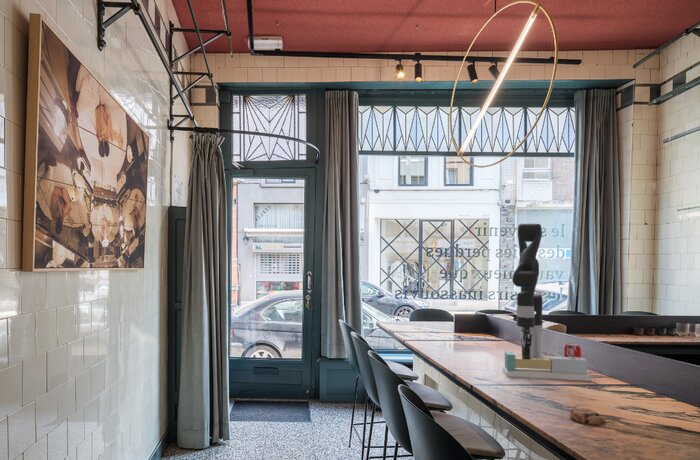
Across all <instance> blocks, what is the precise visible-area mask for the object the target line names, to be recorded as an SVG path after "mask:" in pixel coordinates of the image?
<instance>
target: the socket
mask: <svg viewBox="0 0 700 460" xmlns="http://www.w3.org/2000/svg"><path fill="white" fill-rule="evenodd" d="M515 357H516V355H515V353H514V352H513V351H509V350H508V351H504V366H505V368H506V369H507V371H515Z"/></svg>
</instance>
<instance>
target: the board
mask: <svg viewBox="0 0 700 460" xmlns="http://www.w3.org/2000/svg"><path fill="white" fill-rule="evenodd" d="M502 372H503V373H504V375H505V377H511V378H526V379H527V378H532V379H547V380H549V379H550V380H564V381H565V380H566V381H567V380H568V381H584V382H585V381H586V382H590V381H591V375H589V374H588V373H587V374H568V373H552V372H551V371H550V370H546V369H526V368H515V371H507V369H506V368H505V365H502Z"/></svg>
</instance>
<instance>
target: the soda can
mask: <svg viewBox="0 0 700 460" xmlns="http://www.w3.org/2000/svg"><path fill="white" fill-rule="evenodd" d="M581 350H582V349H581V347H580V344H578V343H574V342H573V343H570V342H567V343H565V346H564V350H563V352H564V353H563V354H564V356H563V357H581V358H582V351H581Z"/></svg>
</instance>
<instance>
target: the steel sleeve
mask: <svg viewBox="0 0 700 460" xmlns="http://www.w3.org/2000/svg"><path fill="white" fill-rule="evenodd" d="M548 359H551V360H552V370H550V371H551V372H552V373H568V374H588V360H587V359H586V358H584V357H582V356H581V357H564V356H558V355H557V356H556V355H555V356H554V355H548Z"/></svg>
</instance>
